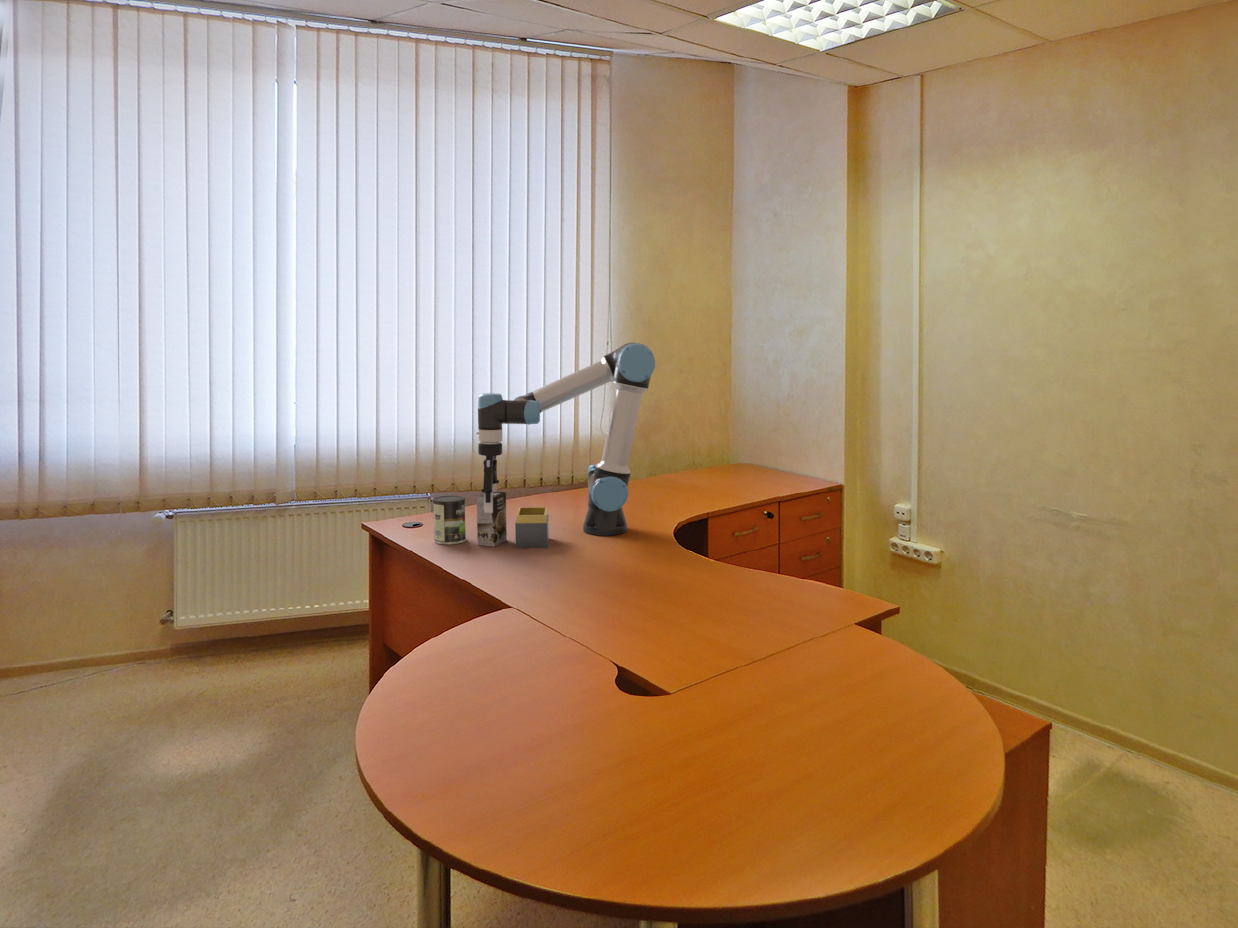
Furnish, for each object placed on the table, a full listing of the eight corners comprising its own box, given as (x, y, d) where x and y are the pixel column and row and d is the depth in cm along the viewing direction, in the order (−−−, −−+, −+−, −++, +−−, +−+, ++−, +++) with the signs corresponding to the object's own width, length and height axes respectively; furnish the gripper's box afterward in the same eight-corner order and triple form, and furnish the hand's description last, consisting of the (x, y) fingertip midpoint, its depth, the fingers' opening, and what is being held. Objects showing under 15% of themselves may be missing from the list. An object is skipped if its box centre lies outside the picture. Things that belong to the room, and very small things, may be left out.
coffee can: (470, 537, 279) (469, 495, 277) (458, 545, 269) (457, 502, 267) (441, 536, 281) (440, 494, 279) (428, 543, 271) (427, 500, 269)
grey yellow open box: (548, 538, 279) (548, 506, 277) (547, 547, 267) (547, 515, 265) (518, 538, 278) (517, 507, 277) (515, 548, 266) (515, 515, 265)
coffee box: (495, 546, 268) (494, 497, 265) (476, 545, 270) (475, 495, 267) (507, 540, 276) (506, 491, 274) (489, 538, 278) (488, 490, 276)
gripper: (482, 437, 280) (482, 499, 283) (473, 447, 255) (474, 516, 259) (505, 437, 280) (505, 500, 284) (498, 448, 256) (498, 516, 259)
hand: (490, 507), depth 271 cm, fingers open, 13 cm apart
